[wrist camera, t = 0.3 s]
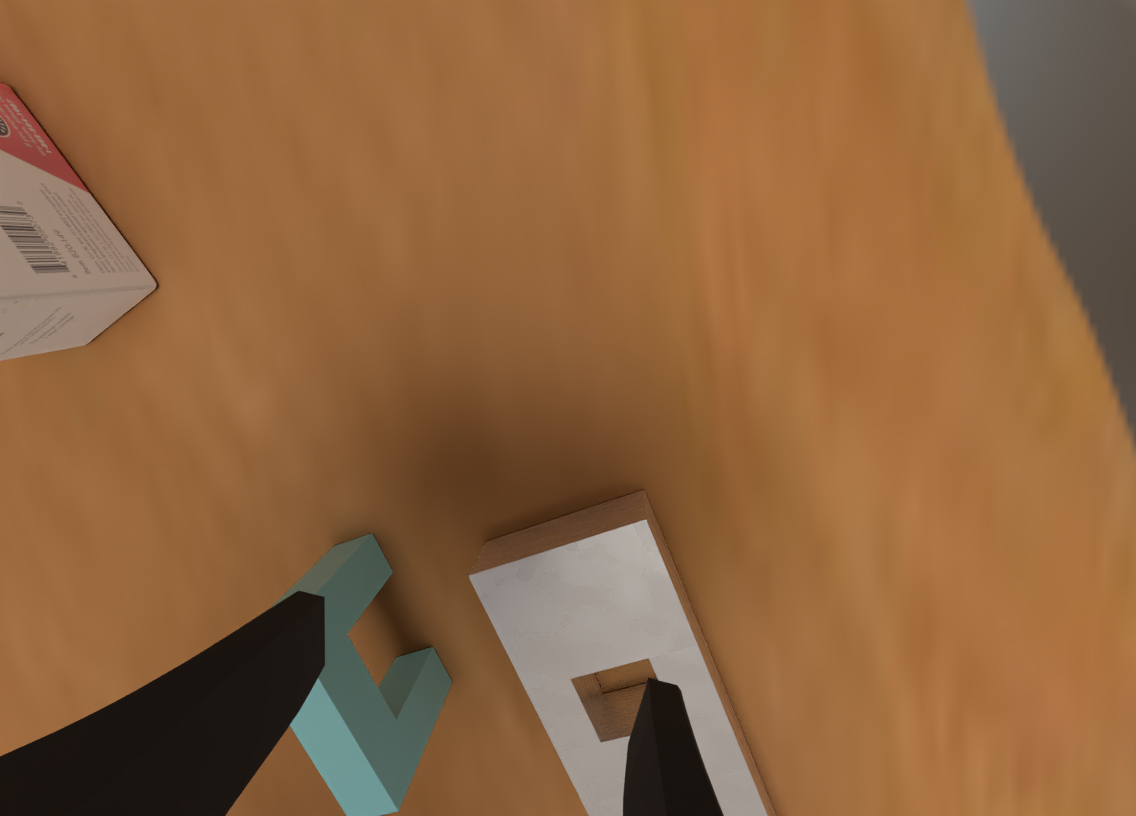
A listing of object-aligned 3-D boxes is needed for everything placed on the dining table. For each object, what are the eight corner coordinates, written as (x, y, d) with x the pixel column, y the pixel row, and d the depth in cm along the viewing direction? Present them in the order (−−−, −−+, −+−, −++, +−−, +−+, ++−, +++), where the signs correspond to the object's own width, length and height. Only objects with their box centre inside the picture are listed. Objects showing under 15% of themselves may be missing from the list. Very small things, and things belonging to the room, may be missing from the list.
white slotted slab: (652, 884, 27) (655, 947, 24) (485, 541, 22) (468, 576, 20) (794, 860, 25) (812, 923, 23) (644, 489, 21) (646, 519, 19)
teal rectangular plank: (414, 692, 25) (350, 822, 19) (333, 546, 23) (236, 641, 18) (452, 681, 25) (398, 811, 19) (371, 532, 23) (286, 625, 17)
